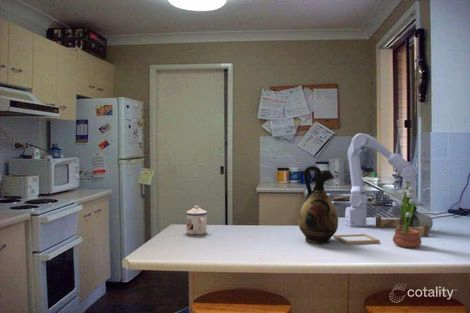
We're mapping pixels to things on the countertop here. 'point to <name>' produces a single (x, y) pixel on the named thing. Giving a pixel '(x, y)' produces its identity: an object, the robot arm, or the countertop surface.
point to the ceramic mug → (421, 221)
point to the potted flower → (407, 222)
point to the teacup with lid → (196, 221)
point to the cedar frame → (400, 225)
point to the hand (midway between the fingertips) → (408, 222)
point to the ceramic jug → (318, 209)
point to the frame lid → (356, 239)
